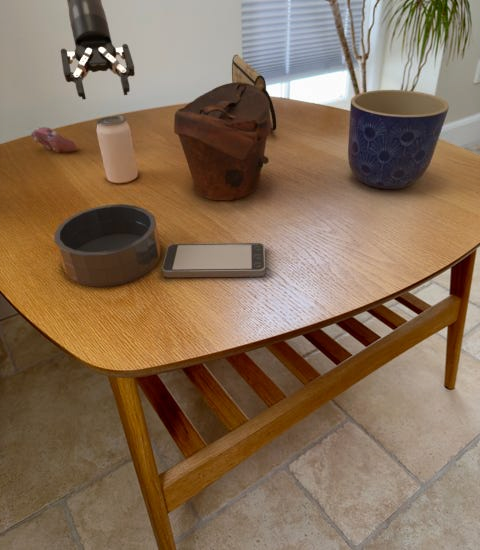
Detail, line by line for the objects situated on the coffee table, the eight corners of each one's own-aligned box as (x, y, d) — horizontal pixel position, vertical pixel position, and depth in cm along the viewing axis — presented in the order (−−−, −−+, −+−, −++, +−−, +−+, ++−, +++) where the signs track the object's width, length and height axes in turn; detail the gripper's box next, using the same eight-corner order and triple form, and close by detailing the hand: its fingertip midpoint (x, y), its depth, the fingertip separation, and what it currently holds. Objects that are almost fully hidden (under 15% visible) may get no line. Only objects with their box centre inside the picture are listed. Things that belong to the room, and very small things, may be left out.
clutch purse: (283, 139, 108) (285, 74, 98) (255, 142, 106) (255, 77, 97) (254, 106, 131) (253, 51, 122) (231, 108, 130) (229, 53, 121)
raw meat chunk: (42, 153, 108) (23, 132, 102) (54, 140, 110) (36, 118, 104) (68, 161, 104) (49, 139, 98) (79, 147, 105) (61, 125, 99)
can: (118, 187, 88) (106, 127, 81) (101, 178, 91) (87, 121, 84) (144, 176, 92) (134, 119, 84) (126, 169, 95) (115, 113, 88)
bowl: (50, 288, 62) (38, 256, 58) (80, 234, 73) (72, 205, 70) (152, 285, 62) (146, 253, 58) (166, 232, 73) (162, 203, 70)
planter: (356, 158, 97) (366, 85, 88) (436, 172, 90) (456, 95, 81) (329, 187, 85) (337, 108, 76) (418, 206, 78) (439, 121, 69)
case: (183, 216, 78) (172, 114, 67) (178, 171, 93) (168, 83, 83) (281, 206, 80) (284, 106, 69) (260, 164, 95) (260, 77, 85)
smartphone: (265, 270, 62) (161, 271, 62) (265, 276, 62) (162, 277, 63) (264, 242, 68) (168, 243, 68) (263, 248, 68) (169, 249, 69)
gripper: (50, 14, 87) (66, 88, 85) (122, 10, 90) (139, 81, 88) (58, 40, 94) (72, 108, 92) (124, 35, 97) (139, 101, 95)
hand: (105, 95), depth 90 cm, fingers open, 8 cm apart
